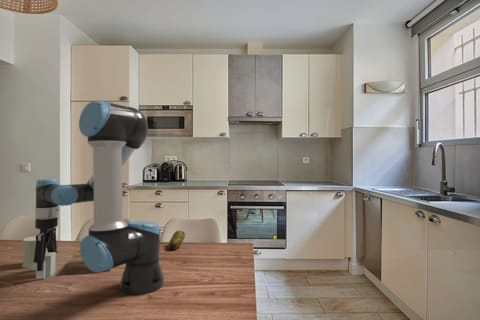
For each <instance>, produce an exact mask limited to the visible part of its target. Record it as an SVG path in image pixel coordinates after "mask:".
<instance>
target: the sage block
mask: <svg viewBox="0 0 480 320" xmlns="http://www.w3.org/2000/svg"><path fill="white" fill-rule="evenodd" d="M56 254H57V253H56V252H50V253H46V254H45V259H44V261H45V278H48V277H51V276H53V274H54V273H56V259H57V258H56Z"/></svg>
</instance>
